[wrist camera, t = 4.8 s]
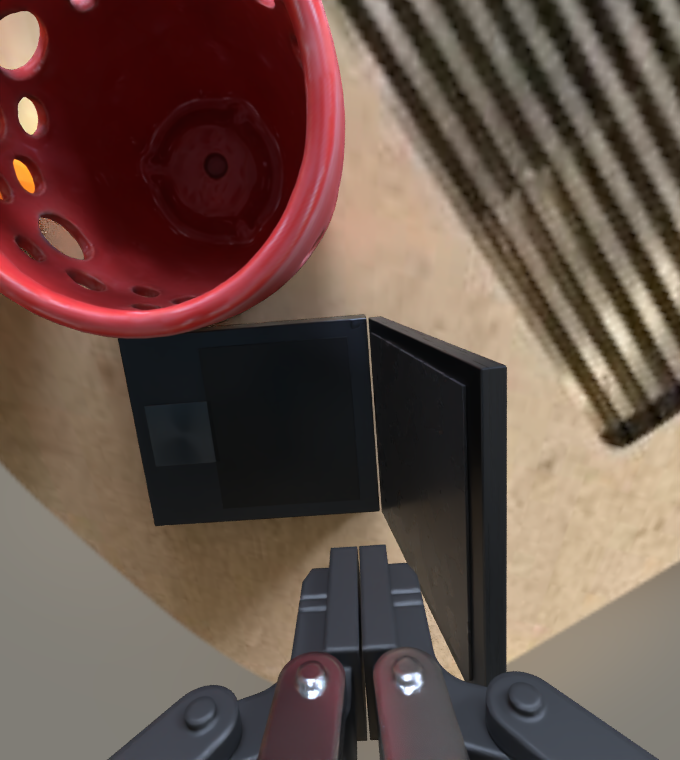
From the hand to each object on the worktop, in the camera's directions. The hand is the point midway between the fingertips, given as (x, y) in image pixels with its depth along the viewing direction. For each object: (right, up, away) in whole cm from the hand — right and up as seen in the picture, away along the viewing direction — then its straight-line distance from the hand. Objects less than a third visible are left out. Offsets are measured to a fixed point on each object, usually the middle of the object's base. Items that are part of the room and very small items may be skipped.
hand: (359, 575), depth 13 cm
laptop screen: (+2, +2, +6) cm, 7 cm away
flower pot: (-7, +16, +12) cm, 21 cm away
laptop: (-5, +3, +15) cm, 16 cm away
